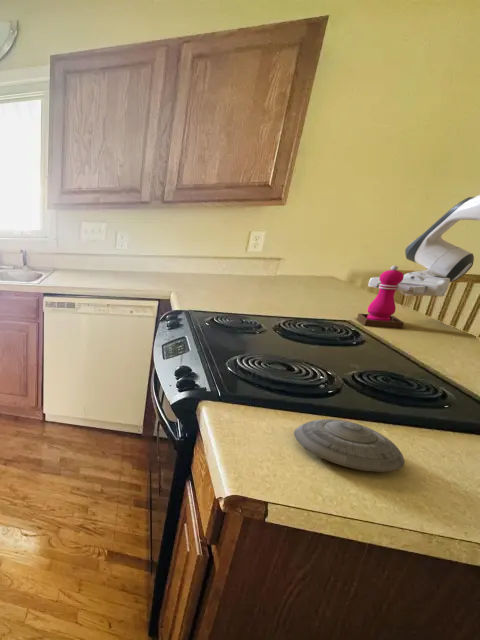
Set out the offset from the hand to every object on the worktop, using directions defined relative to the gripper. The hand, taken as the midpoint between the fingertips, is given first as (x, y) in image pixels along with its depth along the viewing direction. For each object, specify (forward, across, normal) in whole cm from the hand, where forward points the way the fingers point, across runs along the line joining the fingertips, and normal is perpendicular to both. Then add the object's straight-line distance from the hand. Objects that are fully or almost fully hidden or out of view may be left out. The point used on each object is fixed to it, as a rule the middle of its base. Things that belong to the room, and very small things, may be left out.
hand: (394, 287), depth 139 cm
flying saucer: (+104, +42, +13) cm, 112 cm away
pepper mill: (+3, 0, +12) cm, 13 cm away
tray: (+3, 0, +13) cm, 13 cm away
